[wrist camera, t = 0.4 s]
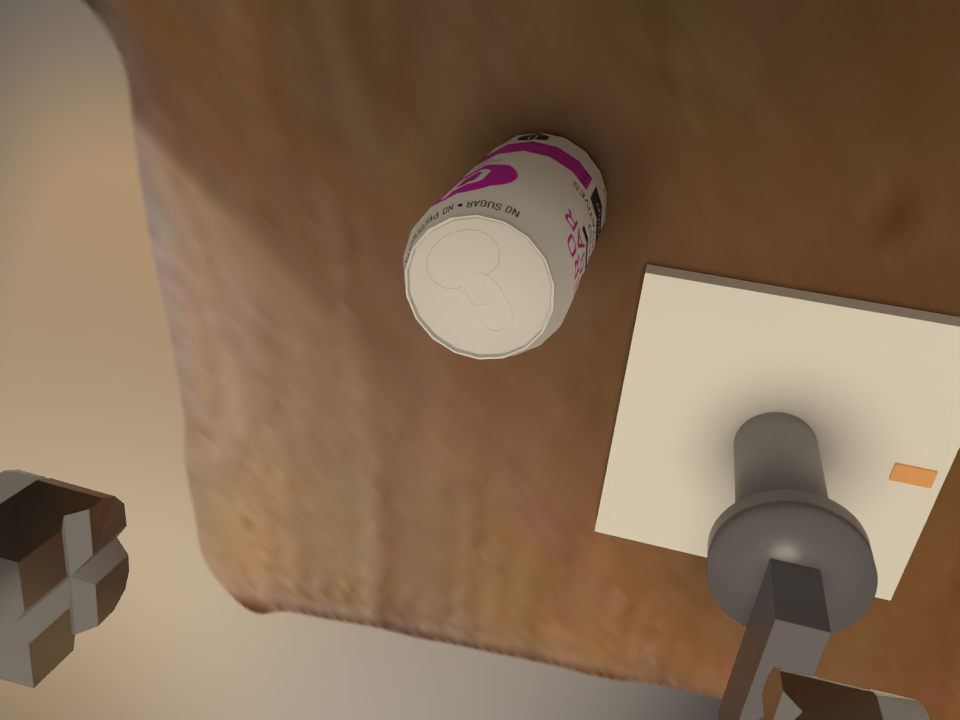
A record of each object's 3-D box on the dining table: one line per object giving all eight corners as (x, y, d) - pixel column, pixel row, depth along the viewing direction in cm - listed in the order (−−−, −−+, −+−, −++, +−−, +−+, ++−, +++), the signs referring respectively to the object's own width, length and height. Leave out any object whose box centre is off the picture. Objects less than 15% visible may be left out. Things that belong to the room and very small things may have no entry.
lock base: (646, 264, 49) (629, 345, 39) (1001, 324, 45) (1080, 430, 35) (597, 518, 59) (572, 634, 49) (886, 585, 55) (923, 725, 45)
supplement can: (452, 169, 49) (359, 249, 37) (570, 105, 46) (513, 168, 33) (515, 281, 52) (448, 393, 39) (631, 228, 48) (600, 332, 35)
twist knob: (726, 474, 41) (727, 563, 35) (893, 510, 39) (924, 609, 33) (670, 670, 48) (663, 771, 42) (810, 707, 46) (823, 817, 40)
